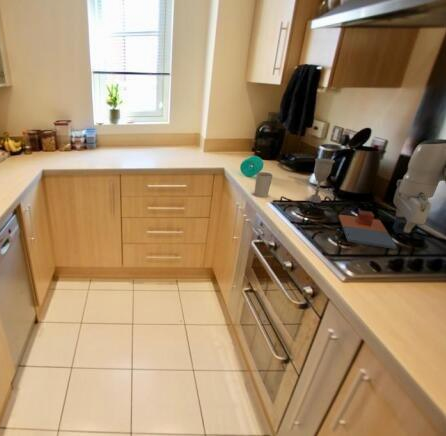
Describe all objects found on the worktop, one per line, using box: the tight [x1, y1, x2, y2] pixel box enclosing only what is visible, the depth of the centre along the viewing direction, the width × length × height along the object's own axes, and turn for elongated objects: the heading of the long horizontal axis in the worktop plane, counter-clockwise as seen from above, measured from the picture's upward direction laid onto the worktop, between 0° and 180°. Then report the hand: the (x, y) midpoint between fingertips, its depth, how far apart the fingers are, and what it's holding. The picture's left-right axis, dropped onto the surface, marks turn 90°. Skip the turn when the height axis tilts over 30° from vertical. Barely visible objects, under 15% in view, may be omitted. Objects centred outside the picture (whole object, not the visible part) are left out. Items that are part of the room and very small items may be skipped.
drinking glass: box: [253, 171, 273, 198], centre depth 145 cm, size 7×7×10 cm
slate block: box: [391, 218, 411, 235], centre depth 111 cm, size 4×4×4 cm
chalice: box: [308, 157, 336, 204], centre depth 136 cm, size 7×7×18 cm
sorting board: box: [338, 214, 398, 250], centre depth 112 cm, size 13×22×1 cm, turn 154°
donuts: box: [239, 155, 264, 178], centre depth 174 cm, size 10×10×10 cm
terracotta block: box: [356, 210, 375, 226], centre depth 115 cm, size 4×4×4 cm
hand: (401, 226), depth 111 cm, fingers open, 8 cm apart
